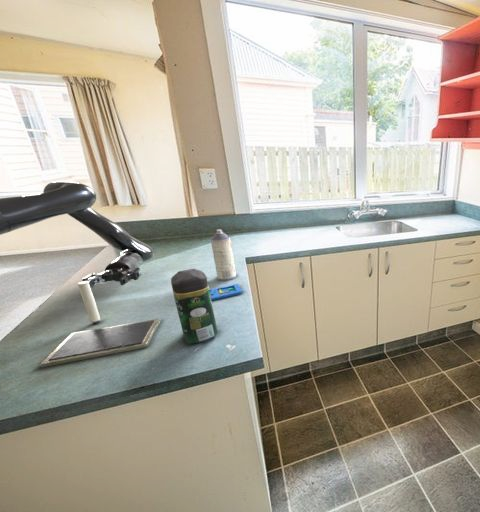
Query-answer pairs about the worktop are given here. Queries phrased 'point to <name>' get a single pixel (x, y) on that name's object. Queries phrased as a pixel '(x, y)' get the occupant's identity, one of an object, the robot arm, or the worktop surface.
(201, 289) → the coffee jar
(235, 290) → the handheld gaming device
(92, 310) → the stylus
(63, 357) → the chalkboard
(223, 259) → the aerosol can
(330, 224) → the worktop surface
